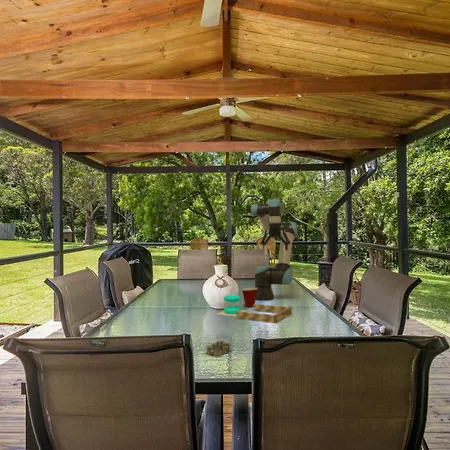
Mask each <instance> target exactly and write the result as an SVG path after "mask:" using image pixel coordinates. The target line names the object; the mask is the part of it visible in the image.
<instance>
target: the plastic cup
mask: <svg viewBox="0 0 450 450" xmlns="http://www.w3.org/2000/svg"><path fill="white" fill-rule="evenodd" d="M257 289H258V288H255V287H245V288H242V289H241V291H242V295H243V300H244V306H245V308H253V304H256V301H257V300H256V293H257Z"/></svg>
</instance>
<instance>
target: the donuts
mask: <svg viewBox="0 0 450 450" xmlns="http://www.w3.org/2000/svg"><path fill="white" fill-rule="evenodd" d="M223 300H224V302H226V303H233V304H234V303H238V302H239V301H240V300H241V296H240V295H238V294H227V295H225V296H224V297H223ZM241 310H242V309H241V307H240V306H237V305H226V306H225V307H224V308H223V311H224V312H225V313H228V314H236V312H237V311H241Z"/></svg>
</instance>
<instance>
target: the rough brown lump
mask: <svg viewBox="0 0 450 450" xmlns="http://www.w3.org/2000/svg"><path fill="white" fill-rule="evenodd" d="M231 348H232V343H231V344H230V343H229V342H227V341H222V340H220V339H218V340H217V341H216V342H213V343H211V344H209V345H206V346H205V350H206V354H207V356H214V357H222V355H226V354H227V353H228V352H231Z"/></svg>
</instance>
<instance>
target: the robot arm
mask: <svg viewBox="0 0 450 450" xmlns="http://www.w3.org/2000/svg"><path fill="white" fill-rule="evenodd" d="M284 209H285V207H284V205H283V204H281V200H280V199H279V198H277V199H269V200H268V203H255V204H254V203H253V204H252V205H251V206H250V213H251V215H252V216H257V217H258V219H259V222H260V223H261V224H262V228H263V230H264V234H263V236H262V238H261V240H260V244H261V245H263V247H262V249H263V251H264V256H267V255H268V245H267V244H268V242H269V241H270V240H271V238H279V240H280V243H279V244H280V245H279V250H278V257H277V259H278V260H277V263H276V264H275V266H274V267H272V266H271V265H262V266H257V267H256V268H255V269H254V288H258V289H257V293H256V300H255V301H272V300H275V295H274V292H273V288H272V285H283V286H285V285H291V284H292V282H293V278H294V269H293V268H292V266H291V257H292V256H291V255H292V247H293V241H294V240H295V238H297V237H298V229H297V228H298V227H297V224H296V222H294V221H282V219H281V214H283V213H284Z"/></svg>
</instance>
